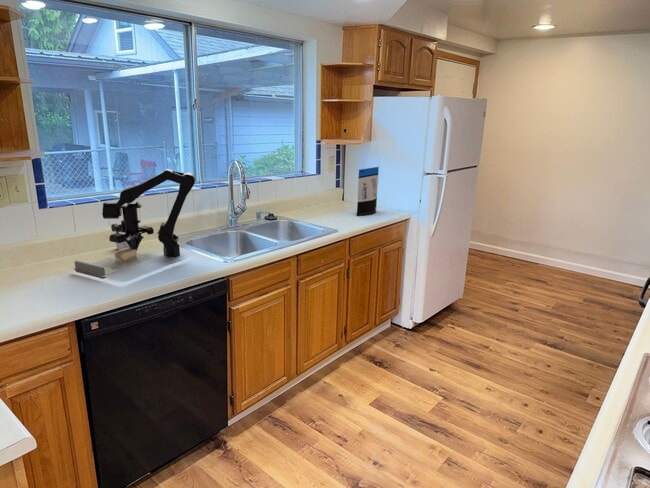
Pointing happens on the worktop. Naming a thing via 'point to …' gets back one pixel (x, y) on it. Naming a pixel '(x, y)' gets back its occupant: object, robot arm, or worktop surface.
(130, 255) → the maple block
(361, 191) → the protein powder
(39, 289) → the worktop surface
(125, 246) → the medicine box
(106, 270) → the trap runway
